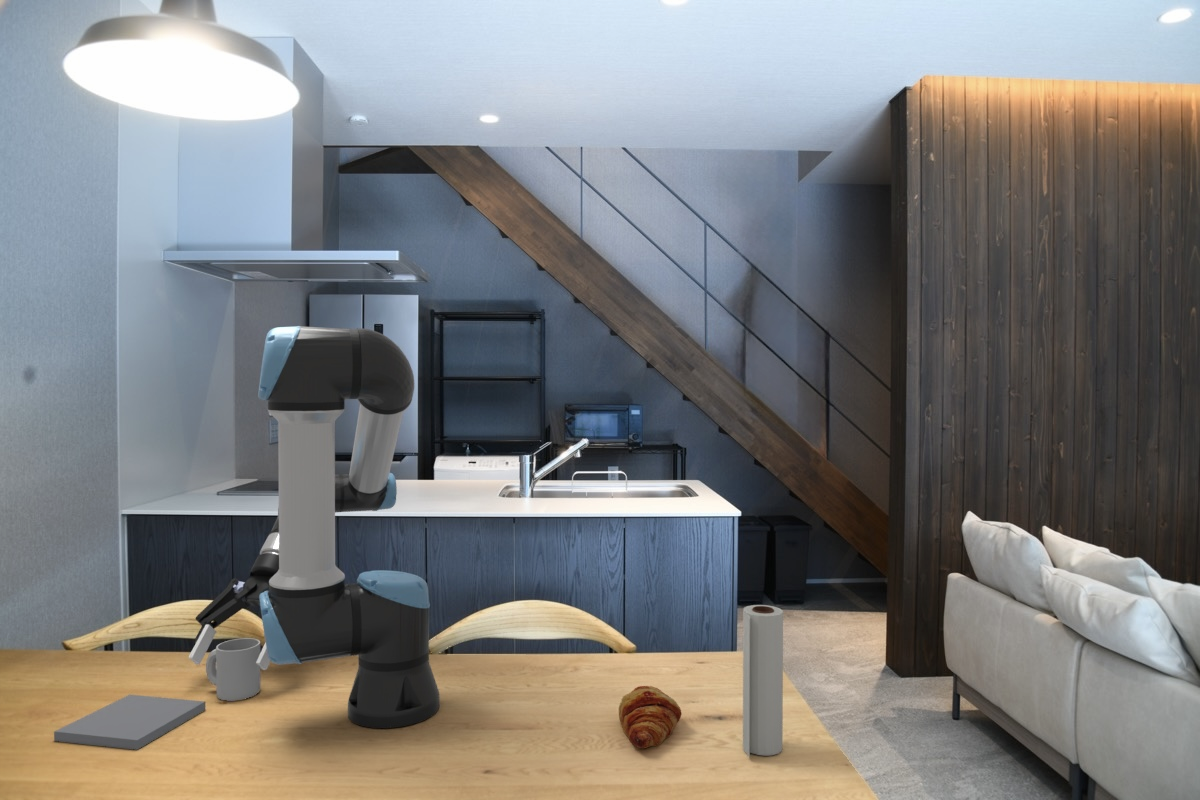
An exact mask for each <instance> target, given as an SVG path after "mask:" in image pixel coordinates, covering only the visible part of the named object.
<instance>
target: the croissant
mask: <svg viewBox="0 0 1200 800" xmlns="http://www.w3.org/2000/svg"><path fill="white" fill-rule="evenodd" d="M618 706H619V707H618V718H619V719H618V720H619V723H620V725H621V726H620V727H621V728H622V730H623V733H624V734H625V735H626V736H627V737H626V738H628V740H629V742H630V743H631V745H633V746H635V747H637V748H638V749H645V748H646V749H647V748H649V747H656V746H658V745H662V743H663V742H664V740H666V739H667V738H669V737H670V736H671V735H672V733H673V731H674V728H675V727H676V726H677V725H678V724H679V722H680V720H681V717H682V709H681V707H680V706H679V704H678V703H677V701H675V699H673V698H672V697H671V696H669V695H668V694H666V693H665V692H663V691H662V690H661V689H659V688H658V687H654V686H652V685H650V686H649V685H641V686H640V685H639V686H637V687H635V688H634V689H633V690H632V691H631V692H629V693H627V694H624V695H623V696H622V699H621V701H620V703H619V705H618Z"/></svg>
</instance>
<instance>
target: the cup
mask: <svg viewBox="0 0 1200 800" xmlns="http://www.w3.org/2000/svg"><path fill="white" fill-rule="evenodd" d="M260 653H261V640H259V639H257V638H253V637H250V638H249V637H244V638H243V637H242V638H235V639H234V638H233V639H229V640H227V641H226V640H225V641H224V642H221V643H219V644H217V645H216V647H215V649H213V650H212V651H210V652H209V653H208V657H207V659H206V663H205V672H206V676H207V678H208V681H209V682H210V683H211V684H212V685H214V686H216V697H217V698H218V699H219V700H220V699H221V700H220V701H222V700H227V701H226V702H236V701H235V700H240V701H243V700H242V699H245V698H248V699H250V698H249V697H251V698H253V697H255V696H257V695H258V694H259V692H260V691H261V682H262V681H261V668H260V667H259V666H258V665H257V664H256V661H257V659H258V657H259V655H260ZM257 693H258V694H257ZM256 694H257V695H256ZM254 695H255V696H254ZM252 696H253V697H252ZM245 700H246V699H245Z"/></svg>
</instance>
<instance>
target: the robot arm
mask: <svg viewBox="0 0 1200 800" xmlns="http://www.w3.org/2000/svg"><path fill="white" fill-rule="evenodd" d="M262 354H263V355H262V361H261V369H260V375H259V376H260V377H259V384H258V386H259V387H258V392H257V393H258V394H257V398H258V399H259V400H262V401H264V402H265V401H267V412H268V413H269V414H270V415H271V417H273V418H274V419H275V420H276V421H277V425H278V428H277V431H278V432H277V435H278V438H277V439H278V441H277V442H278V443H277V444H278V445H277V446H278V448H277V449H278V508H277V517H276V519H275V522H274V523H273V527H272V529H271V531H270V533H269V534H268V536H267V537H266V540H265V541H264V543H263V545H262V547H261V549H260V550H259V555H258V556H257V557H256V559H255V560H254V563H253V565H252V567H251V569H250V571H249V572H250V573H249V577H248V579H246V581H240V580H238V578H232V579H231V581H230V582H229V583H228V585H227V587H226V588H225V589H224V590H223V591H221V593H219V594H218V596H216V597H215V598H214V599H213V600H212V601H211V602H210V603H209V604H208V605H207V606H206V607H205V608H204V609H202V610H201V612H199V613H198V614H197V615H196V616H195V621H197V622H198V623H199V625H200V628H199V631H198V632H197V635H196V637H195V638H194V642H195V645H194V646H193V648H192V650H191V652H190V653H189V656H188V659H189V660H191V661H192V663H194V664H195V665H200V664H201V663H202V661H203V659H204V657H205V656H206V653H207V651H208V649H209V647H210V645H211V643H212V641H213V640H214V637H215V635H216V634H217V631H216V628H217V627H218V626H220V625H221V624H223V623H225V622H226V621H227V620H228V619H230V618H231V617H233V616H235V614H237V613H239V612H240V611H241V610H242V609H247V608H249V607H250V606H251V607H259V606H260V613H261V619H262V620H261V622H262V627H263V635H264V641H265V643H264V645H263V647H262V648H261V650H260V655H259V657H258V659H257V661H256V664H257V665H258V666H259V667H260V670H263V671H267V670H268V667H269V665H270V663H272V664H275V665H291V664H292V665H293V664H298V665H302V664H303V663H309V662H317V661H323V660H325V661H326V660H330V659H331V660H332V659H340V658H347V657H352V656H353V657H354V656H358V669H357V672H356V675H355V678H354V682H353V684H352V687H351V691H350V694H349V697H348V699H347V716H348V719H349V720H350V722H352V723H354V724H356V725H358V726H361V727H366V728H371V729H390V728H391V729H393V728H400V727H406V726H410V725H415V724H417V723H420V722H423V721H425V720H427V719H429V718H432V717H433V716H434V715H436V713H437V712H438V711H439V709H440V691H439V690H440V689H439V687H438V685H437V682H436V679H435V676H434V673H433V670H432V666H431V664H430V608H431V607H430V606H431V603H430V596H429V587H428V583H427V582H426V580H425V579H424V578H422V577H421V576H419V575H416V574H413V573H410V572H405V571H399V570H398V571H397V570H387V569H386V570H385V569H384V570H383V569H382V570H370V571H363V572H361V573H359V575H358V576H357V579H356V583H346V575H345V572H343V571H342V570H340V568H339V567H338V566H337V565H336V513H346V512H347V513H349V512H350V513H351V512H352V513H353V512H366V511H367V512H368V511H372V512H378V511H379V510H381V511H382V510H388V509H392V508H393V507H394V506H395V505H396V502H397V494H398V493H397V491H398V490H397V480H396V476H395V475H394V474H393V473H392V472H390V471H391V468H392V463H393V460H394V455H395V450H396V446H397V441H398V437H399V433H400V428H401V423H402V419H403V414H404V412H405V411H406V410H407V409H408V408H409V407H410V405H411V403H412V401H413V397H414V393H415V377H414V376H415V375H414V372H413V369H412V366H411V364H410V361H409V359H408V358H407V356H406V355H405V353H404V352H403V351H402V349H401V348H400V346H399V345H398V344H396V343H395V342H394V341H393V340H392V339H390V338H389V337H388V336H386V335H385V334H383V333H381V332H378V331H376V330H373V329H369V328H361V327H360V328H359V327H357V328H341V327H321V326H318V327H317V326H316V327H315V326H301V325H297V326H296V325H295V326H279V327H273V328H271V329H270V330H269V331H268V332H267V334H266V337H265V342H264V347H263V353H262ZM346 400H357V402H358V403H359V409H358V413H357V414H358V415H357V422H356V429H355V433H354V434H355V435H354V439H353V440H354V441H353V449H352V454H351V459H350V461H351V462H350V466H349V467H350V468H349V474H347V473H345V474H336V450H335V449H336V439H335V438H336V436H335V434H336V431H335V430H336V429H335V428H336V425H335V424H336V423H335V422H336V420H337V419H338V418H339V417H340V416H341V415H342V414H343V413H344V412H345V408H346V407H345V406H346V405H345V401H346ZM243 598H244V599H243Z"/></svg>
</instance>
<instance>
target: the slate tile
mask: <svg viewBox="0 0 1200 800" xmlns="http://www.w3.org/2000/svg"><path fill="white" fill-rule="evenodd" d="M206 708H207V707H206V701H203V700H192V699H183V698H171V697H161V696H160V697H159V696H158V697H157V696H151V695H149V696H148V695H137V694H128V695H126V696H124V697H122V698H120V699H118V700H115V701H114V702H112V703H110V704H108V705H106V706H103V707H101V708H99V709H97V710H96V711H93V712H91V713H89V714H87V715H85V716H83V717H80V718H79V719H77V720H75V721H72V722H71V723H68V724H67V725H64V726H62V727H60V728H59V729H57V730H55V731H53V740H54V742H58V741H59V742H61V743H68V744H69V743H70V744H79V745H87V746H95V747H96V746H97V747H105V746H106V748H115V749H124V750H125V749H126V750H133V749H134V750H136V751H138V750H140V749H142V748H143V747H145V746H147V745H148V743H149V744H150V743H151V741H152V742H154V741H156V740H157V739H159V738H161V737H163V736H164V735H166V734H167V733H169V732H170V730H171V731H172V730H174V729H176V728H178V727H180V726H181V725H182V723H183V724H185V723H186V722H188V721H189V719H190V720H191V719H193V718H195V717H196V716H198V715H200V714H202V713H203V712H205V711H206ZM204 710H205V711H204ZM202 711H203V712H202ZM201 712H202V713H201ZM199 713H200V714H199ZM197 714H198V715H197ZM194 716H195V717H194ZM192 717H193V718H192ZM187 720H188V721H187ZM177 726H178V727H177ZM175 727H176V728H175ZM168 731H169V732H168ZM165 733H166V734H165ZM158 737H159V738H158ZM156 738H157V739H156ZM153 740H154V741H153ZM146 744H147V745H146ZM141 747H142V748H141Z"/></svg>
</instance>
